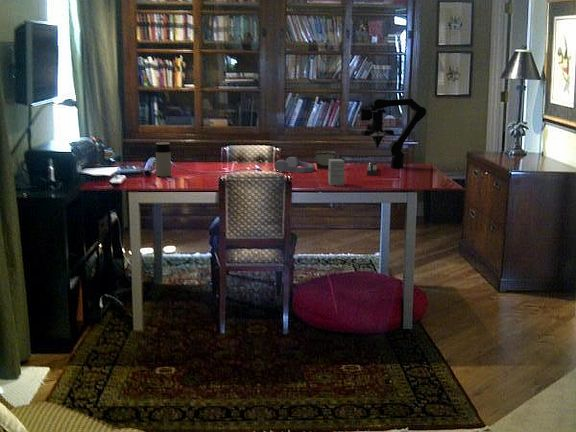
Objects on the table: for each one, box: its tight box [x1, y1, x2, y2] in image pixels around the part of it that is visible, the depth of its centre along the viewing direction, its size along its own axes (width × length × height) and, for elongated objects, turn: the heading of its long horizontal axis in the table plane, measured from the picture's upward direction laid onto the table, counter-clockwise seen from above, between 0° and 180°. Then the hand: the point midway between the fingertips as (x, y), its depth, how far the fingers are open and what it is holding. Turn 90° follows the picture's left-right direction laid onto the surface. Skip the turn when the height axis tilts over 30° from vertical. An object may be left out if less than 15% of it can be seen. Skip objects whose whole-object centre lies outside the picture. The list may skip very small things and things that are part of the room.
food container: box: [314, 150, 337, 170], centre depth 463 cm, size 12×6×10 cm, turn 84°
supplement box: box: [327, 158, 345, 187], centre depth 406 cm, size 7×7×13 cm
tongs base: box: [366, 161, 377, 176], centre depth 451 cm, size 28×5×4 cm, turn 174°
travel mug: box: [155, 141, 172, 178], centre depth 432 cm, size 8×8×18 cm
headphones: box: [274, 156, 315, 174], centre depth 456 cm, size 22×7×20 cm
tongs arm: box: [371, 164, 378, 176], centre depth 448 cm, size 24×2×2 cm, turn 174°
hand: (377, 147), depth 464 cm, fingers closed
